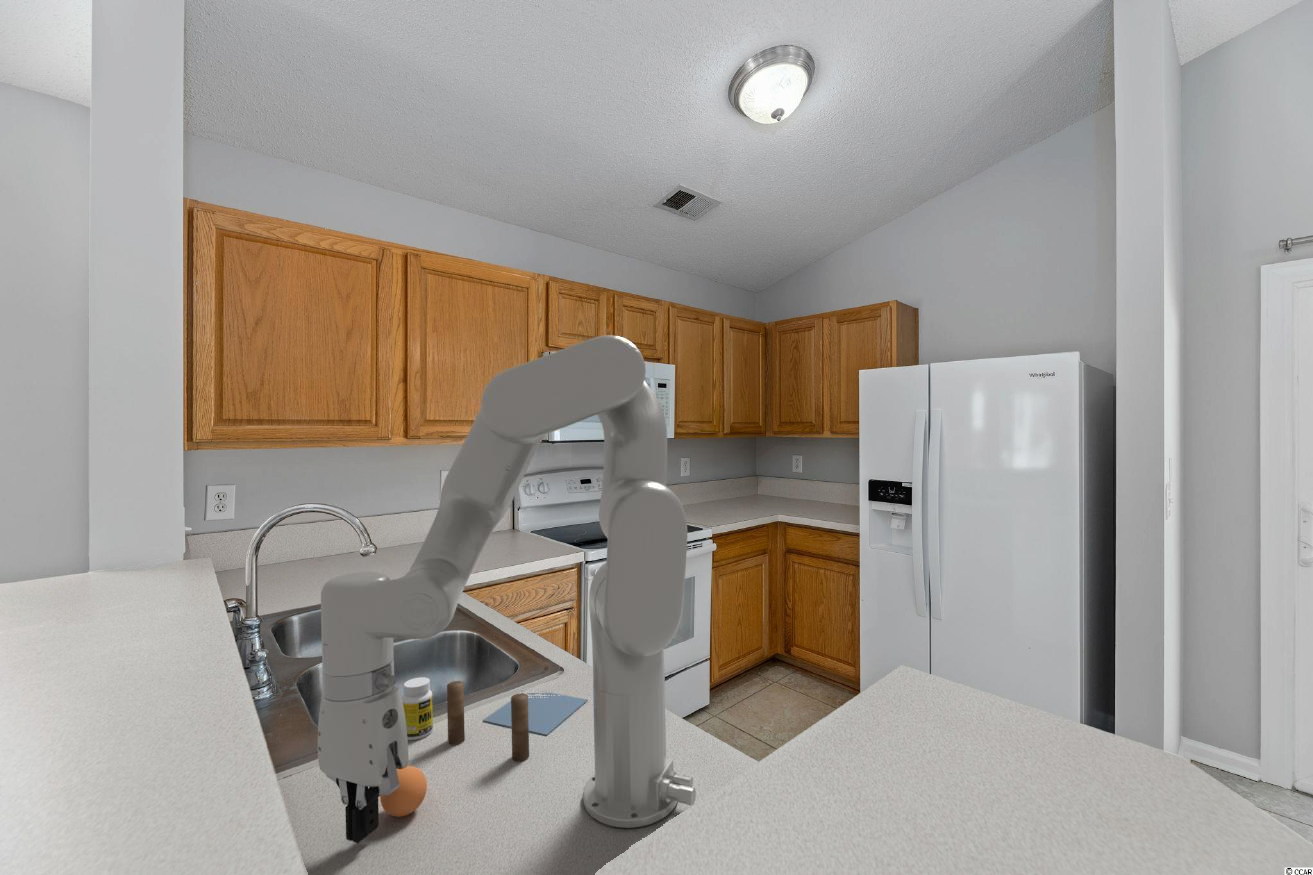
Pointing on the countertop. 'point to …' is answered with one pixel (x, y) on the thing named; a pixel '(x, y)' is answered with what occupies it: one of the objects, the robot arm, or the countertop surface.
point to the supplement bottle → (418, 708)
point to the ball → (406, 792)
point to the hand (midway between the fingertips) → (362, 833)
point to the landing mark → (541, 712)
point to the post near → (520, 727)
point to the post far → (455, 712)
